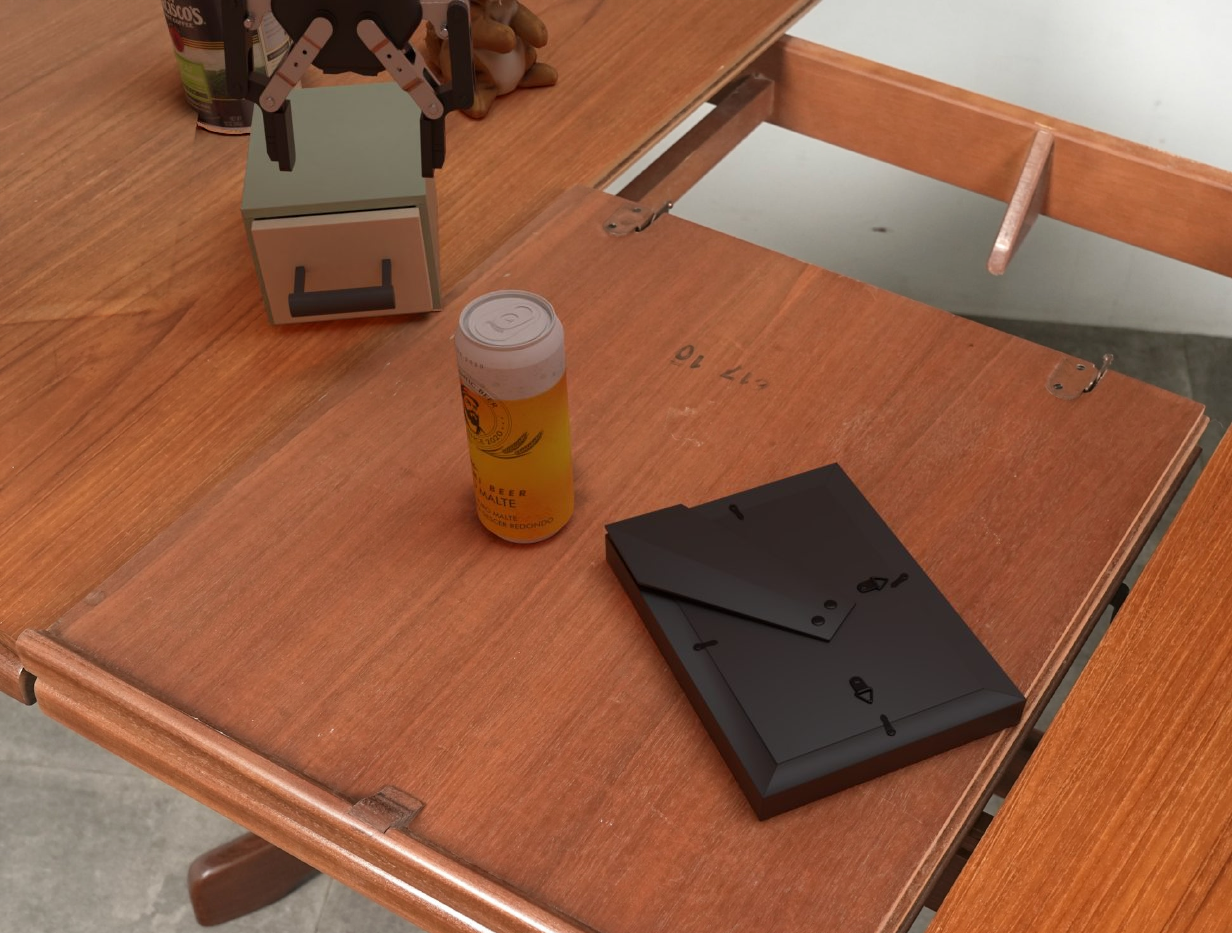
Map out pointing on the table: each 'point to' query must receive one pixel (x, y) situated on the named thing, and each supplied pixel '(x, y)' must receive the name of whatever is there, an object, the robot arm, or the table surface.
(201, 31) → the coffee can
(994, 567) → the table surface
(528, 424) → the beer can
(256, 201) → the cabinet
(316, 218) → the drawer
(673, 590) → the picture frame
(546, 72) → the stuffed squirrel
